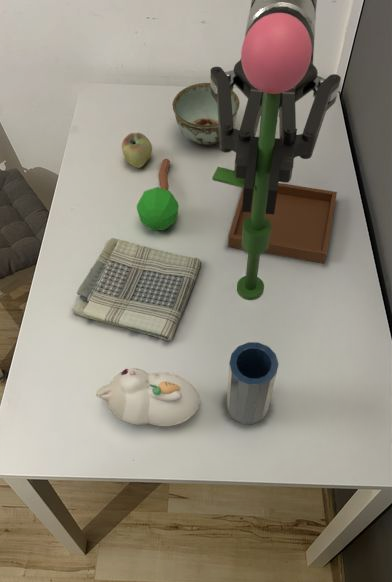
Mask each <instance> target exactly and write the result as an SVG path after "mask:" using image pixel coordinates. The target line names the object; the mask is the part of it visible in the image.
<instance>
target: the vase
mask: <svg viewBox="0 0 392 582" xmlns="http://www.w3.org/2000/svg"><path fill="white" fill-rule="evenodd" d="M278 369H279V360H278V357H277V354H276V353H275V351H274V350H272V349H271V348H270V347H269V346H268V345H266V344H264V343H261V342H259V341H257V342H255V341H253V342H252V341H250V342H246V343H245V342H244V343H243V344H240V345H238V346H237V347H236V348H235V349H234V350H233V351H232V352H231V354H230V358H229V362H228V377H227V395H226V409H227V412H228V414H229V416H230V417H231V418H232V419H233V420H234V421H235V422H237V423H239V424H242V425H255V424H258V423H259V422H260V421H262V420H263V419H264V418H265V416H266V415H267V413H268V410H269V406H270V401H271V398H272V394H273V390H274V386H275V382H276V378H277V373H278Z"/></svg>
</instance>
